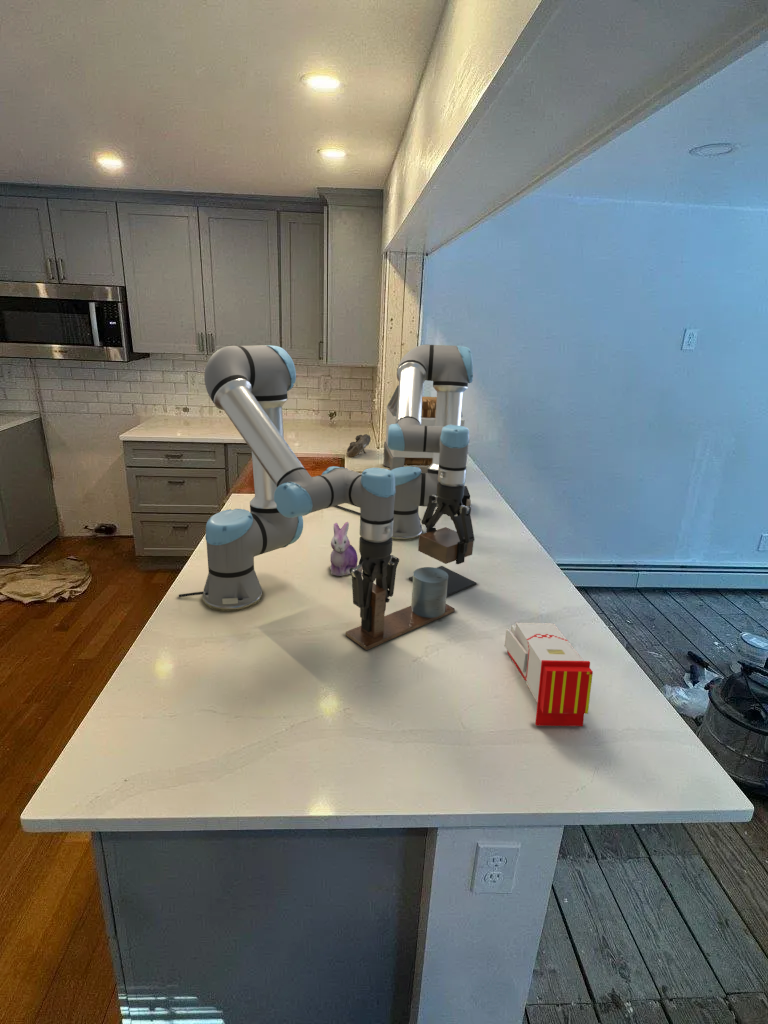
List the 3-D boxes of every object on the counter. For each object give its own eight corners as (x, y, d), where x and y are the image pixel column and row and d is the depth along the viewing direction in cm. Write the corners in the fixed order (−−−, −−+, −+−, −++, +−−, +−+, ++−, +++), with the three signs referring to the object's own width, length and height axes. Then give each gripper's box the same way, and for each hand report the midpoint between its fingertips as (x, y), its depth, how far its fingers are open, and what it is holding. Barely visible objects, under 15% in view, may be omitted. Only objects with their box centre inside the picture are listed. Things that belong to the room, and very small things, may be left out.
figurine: (335, 579, 164) (336, 531, 159) (322, 565, 172) (322, 519, 167) (364, 574, 168) (366, 527, 163) (350, 560, 177) (351, 515, 172)
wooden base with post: (367, 651, 131) (369, 601, 126) (344, 634, 137) (345, 586, 133) (455, 612, 150) (460, 567, 145) (431, 599, 156) (435, 555, 152)
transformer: (382, 463, 289) (386, 382, 275) (445, 464, 293) (451, 384, 279) (390, 482, 257) (394, 392, 243) (460, 483, 261) (468, 394, 247)
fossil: (346, 440, 316) (367, 425, 311) (357, 453, 319) (378, 438, 314) (340, 453, 296) (362, 438, 291) (351, 468, 299) (374, 452, 294)
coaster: (408, 579, 167) (408, 577, 166) (441, 567, 175) (441, 565, 175) (443, 598, 157) (443, 596, 157) (476, 584, 165) (476, 582, 165)
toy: (550, 607, 134) (601, 667, 105) (545, 659, 137) (594, 732, 108) (499, 606, 134) (537, 666, 104) (495, 659, 137) (530, 731, 107)
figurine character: (470, 516, 223) (465, 500, 237) (473, 499, 220) (467, 484, 233) (453, 516, 223) (449, 500, 236) (455, 498, 220) (451, 483, 233)
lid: (418, 550, 163) (419, 534, 161) (444, 542, 170) (445, 527, 168) (445, 564, 155) (447, 547, 154) (472, 554, 162) (473, 538, 161)
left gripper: (358, 550, 121) (355, 645, 129) (413, 534, 131) (407, 623, 139) (337, 539, 126) (336, 630, 134) (391, 524, 136) (387, 610, 144)
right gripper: (411, 474, 162) (407, 545, 169) (474, 496, 145) (466, 573, 152) (430, 471, 166) (425, 540, 174) (493, 491, 150) (484, 566, 157)
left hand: (372, 626), depth 136 cm, fingers closed on wooden base with post, 3 cm apart
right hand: (444, 555), depth 163 cm, fingers closed on lid, 11 cm apart
